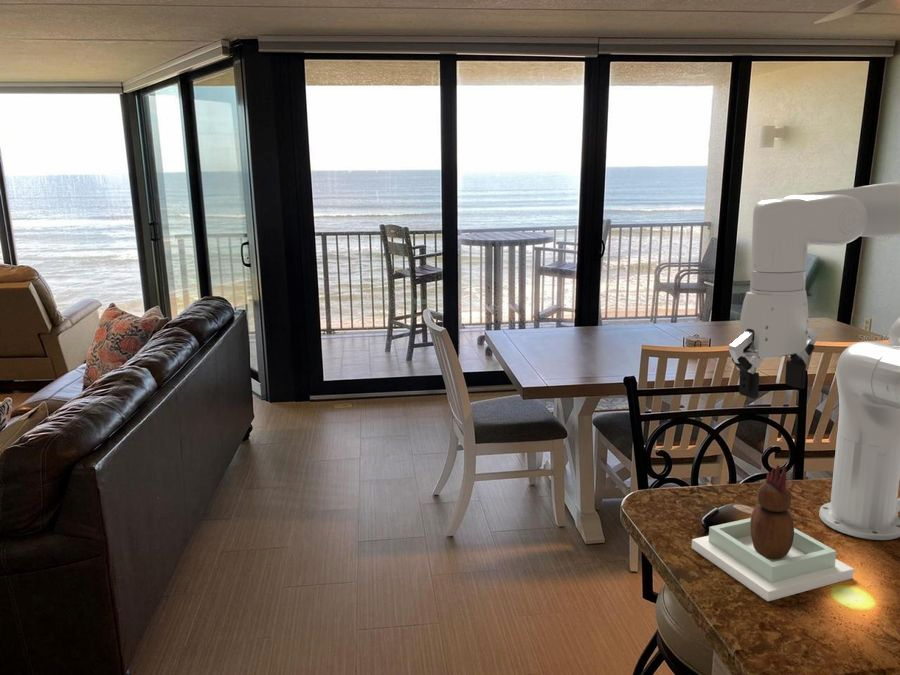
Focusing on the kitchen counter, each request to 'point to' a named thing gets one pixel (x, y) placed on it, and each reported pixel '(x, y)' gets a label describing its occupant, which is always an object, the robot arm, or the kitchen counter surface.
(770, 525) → the wooden figurine
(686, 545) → the kitchen counter surface
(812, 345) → the robot arm
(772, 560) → the ceramic stand
